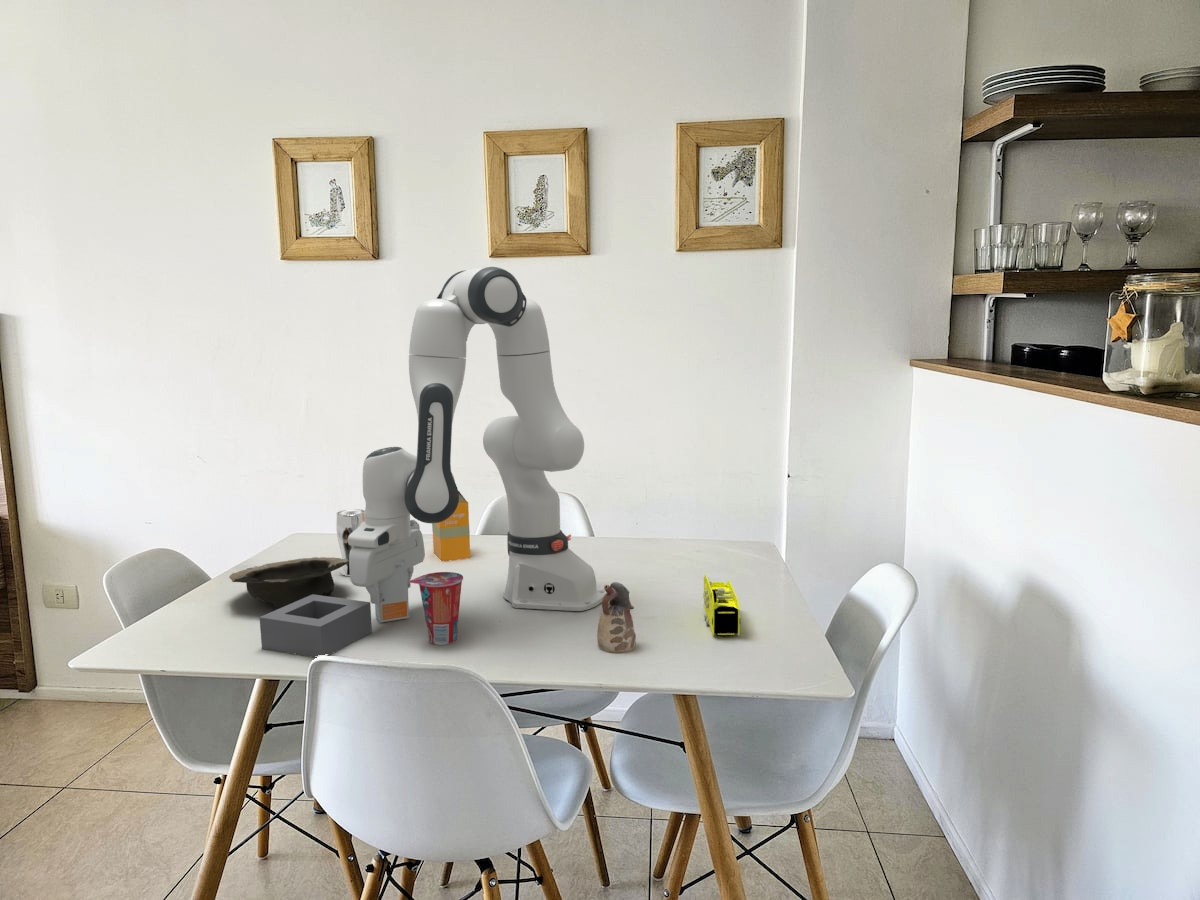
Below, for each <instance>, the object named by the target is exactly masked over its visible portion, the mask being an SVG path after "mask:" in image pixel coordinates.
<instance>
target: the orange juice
mask: <svg viewBox="0 0 1200 900" xmlns="http://www.w3.org/2000/svg"><path fill="white" fill-rule="evenodd" d="M458 492H459V502H458V506H457V508H456V510H455V512H454V513H453V514H452V515H451V516H450V517H449V518H447V519H446V520H444V521H442V522H439V523H431V527H432V530H431V532H432V543H433V544H432V545H433V547H432V548H433V549H432V550H433V554H435V555H436V556H437V557H438V558H439V559H440V560H441V561H445V562H450V561H449V560H452V561H459V560H458V559H460V560H465V559H466V558H468V559H471V545H470V544H471V542H470V540H471V538H470V535H471V534H470V533H471V532H470V516H469V515H470V514H469V511H470V510H469V502H468V501H467V500H466V498H465V497H464V496H463V494H462V493H461V492H460V491H459V490H458ZM435 555H434V556H435ZM436 556H435V557H436ZM437 557H436V558H437ZM438 558H437V559H438ZM439 559H438V560H439ZM440 560H439V561H440ZM441 561H440V562H441Z"/></svg>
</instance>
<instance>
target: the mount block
mask: <svg viewBox="0 0 1200 900" xmlns="http://www.w3.org/2000/svg"><path fill="white" fill-rule="evenodd" d="M371 609H372V608H371V601H365V600H364V601H363V600H356V599H349V598H342V597H335V596H328V595H325V596H321V595H314V594H312V595H310V596H308V597H305V598H303V599H301V600H298V601H296V602H294V603H291V604H289V605H287V606H284V607H282V608H280V609H277V610H275V609H274V610H273V611H271V612H268V613H266V614H263V615H261V616H260V617H259V627H260V628H259V629H260V642H261V649H264V650H268V649H270V651H274V650H277V651H276V652H280V651H282V652H281V653H286V652H289V653H288V654H291V653H296V654H295V655H297V654H300V655H299V656H303V655H306V656H305V657H309V656H312V657H311V658H315V656H318V655H325V654H330V655H332V654H334V653H336V652H338V651H339V650H341V649H344V648H345V647H347V646H348V645H351V644H352V643H354V642H357V641H358V640H360V639H362V638H364V637H366V636H368V635H369V634H371V633H372V631H373V627H372V612H371V611H372V610H371ZM337 650H338V651H337ZM333 652H334V653H333Z"/></svg>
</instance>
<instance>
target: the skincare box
mask: <svg viewBox="0 0 1200 900" xmlns="http://www.w3.org/2000/svg"><path fill="white" fill-rule="evenodd" d="M377 589H378V591H379V593H382V599H383V600H382V602H380V603H378V604H374V606H375V607H374V610H375V611H374V612H375V613H374V614H375V617H376V619H377V620H378V622H379V623H380V624H382V623H383V624H384V623H386V622H392V621H398V620H399V621H401V620H406V619H407V620H408V619H409V618H410V612H409V611H410V607H409V588H408V575H407V561H405V560H404V559H403V560H401V561H398V562H396V563H395V573H394V575H393V576H390V577H388V578H386V579H384V580H382V581H380V582H379V587H377Z"/></svg>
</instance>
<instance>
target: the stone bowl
mask: <svg viewBox="0 0 1200 900" xmlns="http://www.w3.org/2000/svg"><path fill="white" fill-rule="evenodd" d="M348 562H349V560H348V561H347V559H342V557H334V556H333V557H325V556H324V557H323V556H322V557H321V556H320V557H316V556H315V557H309V558H308V557H306V558H296V559H290V560H285V561H284V560H283V561H278V562H270V563H266V564H262V565H259V566H256V565H255V566H252V567H248V568H245V569H242V570H239V571H237V572H232V573H231V574H230V575H229V577H228V578H229V579H230V580H231V583H244V584H245V583H246V584H245V585H246V591H247V592H248V594H249V595H250V596H251V597H253V598H255V599H256V598H257V599H258V600H259V601H261V602H264V603H265V602H266V603H271V604H272V605H273V609H274V611H275V610H277V609H280V608H282V607H284V606H287V605H289V604H291V603H294V602H296V601H298V600H301V599H303V598H305V597H308V596H310V595H312V594H314V595H321V596H324V595H325V596H328V595H331V594H332V593H333V592H334V587H335V582H334V578H333V575H332V572H333V571H335V570H338V569H341V568H342V566H344V565H346V564H347V563H348Z"/></svg>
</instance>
